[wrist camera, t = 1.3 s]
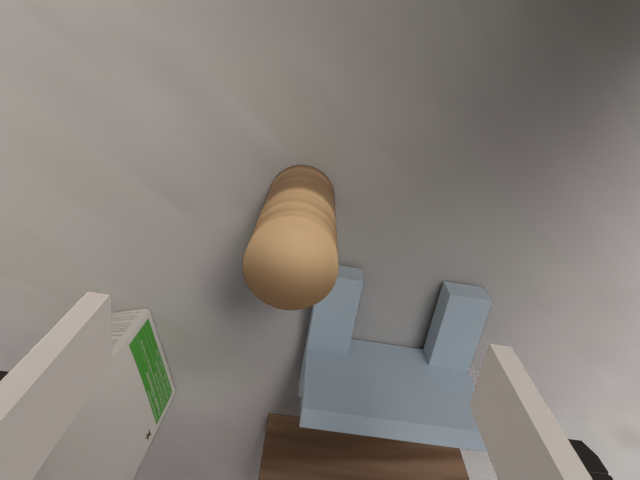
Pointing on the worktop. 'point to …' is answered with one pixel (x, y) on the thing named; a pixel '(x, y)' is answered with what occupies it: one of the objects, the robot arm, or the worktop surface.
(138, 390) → the skincare box
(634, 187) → the worktop surface
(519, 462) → the robot arm
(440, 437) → the fork block
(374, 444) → the board
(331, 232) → the dowel
